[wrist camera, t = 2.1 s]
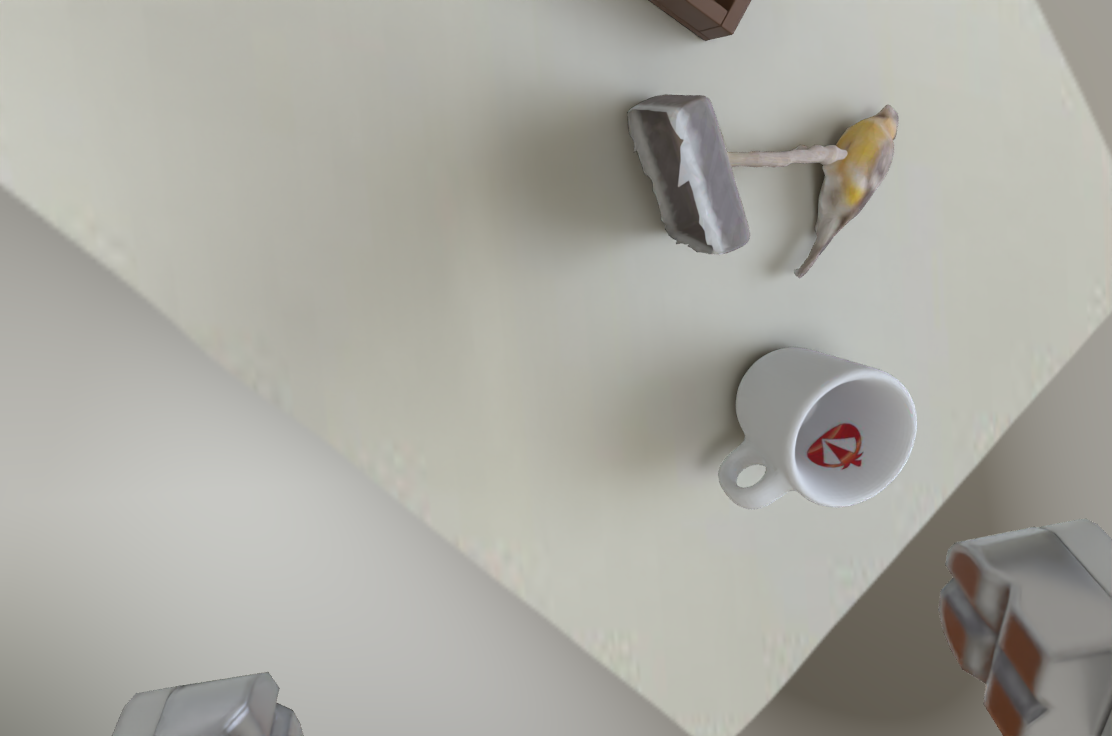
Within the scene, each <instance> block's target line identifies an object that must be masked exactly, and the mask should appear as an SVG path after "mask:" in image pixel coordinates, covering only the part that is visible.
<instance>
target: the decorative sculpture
mask: <svg viewBox="0 0 1112 736" xmlns="http://www.w3.org/2000/svg"><path fill="white" fill-rule="evenodd" d="M627 113H628V128H629V133H630V136H631V138H632V139H633V141H634V143H635V147H634V152H636V151H637V152H638V155H639V158H640V161H641V165H642V168H643V172H644V174H645V175H647V176H648V177H650V178H651V180H652V183H653V192H654V193H655V194H656V197H657V201H658V205H659V208H660V212H661V221H663V222H664V223H665V225H666V226H665V230H666V231H667V233H668V235H669V236H670V237H671V238H673V239H675V240H677V242H676V244H680V243H683V244H689V245H688V247H691V248H692V249H693V250H695V251H696V252H702V253H708V254H724V253H728V252H731V251H734V250H736V249H738V248H740V247H742V246H743V245H745V244H746V243H747V242H748V241H749V239H750V231H749V226H748V222H747V219H746V216H745V212H744V208H743V205H742V201H741V198H740V195H739V192H738V188H737V184H736V181H735V177H734V174H733V170H732V167H736V166H750V167H762V166H769V167H784V166H787V165H789V164H791V163H803V164H804V163H815V162H819V163H821V164H823V167H822V168H823V171H824V173H825V179H824V182H823V185H822V188H821V191H820V194H819V203H818V220H817V223H816V226H815V231H816V234H817V238H816V241H815V243H814V245H813V247H812V249H811V251H810V254H809V256H808V258H807V259H806V260H805V262H804V264H802V265H801V267H800V268H799V269H796V270H794V274H795V275H796V276H798V278H801V277H802V276H803V275H804V274H806V273H807V271H808V270H809V269H810V268H811V267H812V265H813V264H814V262H815V261H816V259H817V258H818V256H819V255H820V254H821V253H822V251H823V250H824V249H825V248H826V246H827V245H828V244H829V243H830V241H831V240H832V238H833V237H834V236H835V235H836V234H837V233H838V232H839V231H840V230H841V229H842V228H843V227H844V226H845V225H846V224H847V223H848V222H849V221H850V220H852V219H853V218H854V217H855V216H856V215H857V214H858V213H859V212H860V211H861V210H862V209H863V207H864V206H865V204H866V203H867V202H868V200H869V199H870V197H871V196H872V195H873V193H874V192H875V191H876V189H877V188H878V187H879V185H880V184H881V182H882V181H883V179H884V178H885V176H886V175H887V173H888V171H889V168H890V165H891V163H892V159H893V155H894V142H893V140H894V139H895V137H896V133H897V127H898V114H897V112H896V111H895V110H894V108H892V107H891V106H890V105H886V106H885V107H884V108H883V109H882V110H881V111H880V112H879V113H878V114H877V115H875V116H873V117H870V118H868V119H864V120H861V121H860V122H858V123H857V124H855V125H853V126H851V127H849V128H848V129H846V131H845V132H844V133H843V135H842V136H841V137H840V139H839V140H838V142H837V144H836V146H835V145H828V146H825V147H822V146H821V145H814V146H812V147H809V148H808V147H807V146H805V145H799V146H798V147H797V148H795V149H793V150H792V151H784V152H769V151H766V152H760V151H752V152H728V151H727V149H726V146H725V143H724V139H723V136H722V133H721V130H720V127H719V124H718V121H717V118H716V115H715V111H714V108H713V105H712V103H711V100H710V99H709V98H708V97H706V96H701V95H696V96H693V95H687V96H685V95H660V96H655V97H652V98H650V99H647V100H645V101H643V102H641V103H639V104H638V105H636V106H634V107H632V108H631V109H630V110H629V111H628V112H627Z"/></svg>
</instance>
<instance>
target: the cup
mask: <svg viewBox="0 0 1112 736" xmlns="http://www.w3.org/2000/svg"><path fill="white" fill-rule="evenodd" d="M736 413H737V417H738V421H739V424H740V426H741V428H742V430H743V432H744V433H745V439H744V441H743V442H742V443H741V444H740V445H739V446H738V447H737V448H736V449H735V450H733V451H732V452H731V453H730V454H729V455H728V456H727V457H726V458H725V459H724V461H723V462H722V464H721V465H720V468H719V471H718V477H719V483H720V485H721V487H722V489H723V490H724V492H725V493H726V495H727V496H728V497H729V498H730V499H731V500H732V501H733V502H734V503H735V504H737V505H739V506H741V507H743V508H746V509H758V508H762V507H765V506H767V505H769V504H771V503H772V502H774V501H775V500H777V499H778V498H780V497H781V496H783V495H784V494H786V493H787V492H789V491H797V492H798V493H800V494H801V495H802V496H803V497H805V498H806V499H808V500H809V501H811V502H813V503H816V504H818V505H822V506H826V507H847V506H852V505H855V504H858V503H861V502H864V501H866V500H868V499H870V498H872V497H873V496H875V495H876V494H878V493H879V492H881V491H882V490H883V489H885V488H886V487H887V486H888V485H889V484H890V483H891V482H892V481H893V480H894V479H895V478H896V476H897V475H898V474H899V472H900V471H901V470H902V468H903V467H904V465H905V463H906V462H907V460H908V458H909V456H910V453H911V451H912V448H913V445H914V441H915V437H916V430H917V417H916V410H915V406H914V403H913V400H912V398H911V396H910V394H909V392H908V390H907V389H906V388H905V386H904V385H903V384H902V383H901V382H900V381H899V380H898V379H896V378H895V377H894V376H892V375H890V374H889V373H887V372H885V371H882V370H879V369H876V368H873V367H869V366H866V365H863V364H859V363H856V362H852V361H849V360H845V359H842V358H839V357H835V356H832V355H828V354H825V353H822V352H818V351H815V350H811V349H806V348H798V347H789V348H782V349H778V350H775V351H772V352H770V353H768V354H766V355H764V356H763V357H761V358H760V359H759V360H757V361H756V362H755V363H754V364H753V365H752V366H751V367H750V368H749V370H748V371H747V372H746V374H745V375H744V377H743V379H742V381H741V383H740V385H739V388H738V392H737V396H736ZM756 464H759V465H763V466H766V471H765V474H764V476H763V477H762V478H761V480H760V481H759V482H757V483H756V484H754V485H753V486H750V487H747V488H742V487H739V486H737V483H736V481H737V477H738V475H739V474H740V473H741V471H743V470H744V469H745V468H747V467H749V466H751V465H756Z"/></svg>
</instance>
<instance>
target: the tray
mask: <svg viewBox="0 0 1112 736" xmlns="http://www.w3.org/2000/svg"><path fill="white" fill-rule="evenodd" d="M649 1H650V2H652V3H653V4H654V5H656V6H657V7H659V8H660V9H661V10H663V11H664V12H666V13H667V14H668V15H670V16H671V17H673V18H674V19H675V20H677V21H678V22H680V23H681V24H682V25H684V26H685V27H687V28H688V29H689V30H691V31H692V32H694V33H695V34H696V35H698V36H699V37H701V38H702V39H703V40H705V41H707V40H710V39H715V38H720V37H724V36H728V35H732V34H733V33H734V31H735V29H736V28H737V26H738V24H739V22H740V20H741V18H742V16H743V15H744V13H745V11H746V9H747V7H748V5H749V4H750V2H751V0H649Z"/></svg>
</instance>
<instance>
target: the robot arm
mask: <svg viewBox="0 0 1112 736" xmlns="http://www.w3.org/2000/svg"><path fill="white" fill-rule="evenodd" d="M945 566H946V567H947V569H948V570H949V572H950V573H951V574H952V576H953V578H952V579H951V580H950V581H949V582H948V583H947V585H946V586H944V588H943V589H942V590H941V592H940V601H939V609H938V610H939V615H940V620H941V624H942V629H943V633H944V635H945V638H946V640H947V642H948V645H949V647H950V650H951V651H952V653H953V655H954V656H955V658H956V660H957V661H958V663H959V665H960V666H961V668H962V670H964V671H966V672H967V673H969V674H971V675H973V676H974V677H976V678H977V679H979V680H980V681H982V682H984V683H985V684H986V689H985V696H984V706H985V707H986V709H987V711H988V712H989V714H990V715H991V717H992V718H993V720H994V722H995V723H996V725H997V727H998V728H999V730H1000V731H1001V733H1002V735H1003V736H1112V539H1111V538H1110V537H1109V536H1108V535H1107V534H1106V532H1104V530H1103V529H1102V528H1101V527H1100V526H1098V525H1097V524H1096V523H1094V522H1092V521H1090V520H1088V519H1079V520H1073V521H1068V522H1062V523H1057V524H1052V525H1047V526H1042V527H1030V528H1026V529H1021V530H1015V531H1010V532H1005V533H1001V534H996V535H991V536H986V537H981V538H976V539H971V540H966V541H961V542H956V543H954V544H953V545H952V546H951V547H950V548H949V550H948V553H947V558H946V563H945ZM278 692H279V687H278V685H277V684H276V682H275V681H274V679H273V678H272V676H271V675H270V674H269V672H264V673H257V674H252V675H245V676H239V677H232V678H227V679H220V680H213V681H207V682H201V683H195V684H188V685H182V686H176V687H170V688H164V689H159V690H153V691H147V692H142V693H136V694H135V695H134V696H133V698H132V699H131V700H130V701H129V702H128V703H127V704H126V705H125V707H124V708H123V710H122V713H121V715H120V717H119V720H118V722H117V725H116V727H115V730H114V732H113V735H112V736H303V732H302V728H301V725H300V722H299V720H298V718H297V717H296V715H295V713H294V711H293V710H292V709H290V708H287V707H285V706H283V705H281V704H278V703H276V702H277V697H278Z"/></svg>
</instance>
